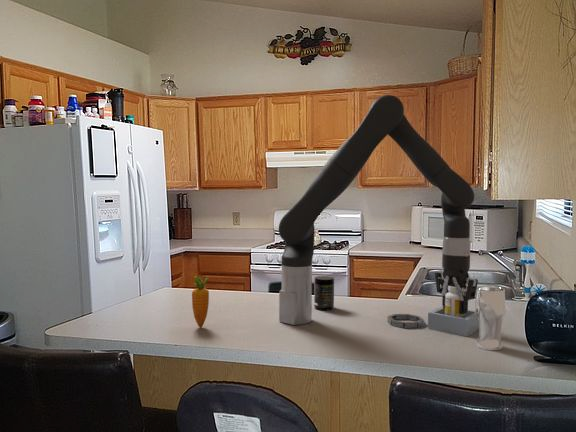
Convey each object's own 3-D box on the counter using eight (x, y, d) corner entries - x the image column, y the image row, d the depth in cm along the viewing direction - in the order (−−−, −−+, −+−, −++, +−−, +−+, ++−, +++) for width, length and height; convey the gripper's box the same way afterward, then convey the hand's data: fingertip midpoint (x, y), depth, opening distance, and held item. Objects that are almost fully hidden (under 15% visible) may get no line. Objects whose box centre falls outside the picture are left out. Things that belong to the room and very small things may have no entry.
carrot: (212, 326, 137) (212, 275, 136) (204, 330, 132) (203, 278, 132) (197, 324, 139) (197, 274, 138) (188, 329, 134) (188, 277, 133)
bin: (466, 336, 128) (467, 319, 128) (427, 328, 136) (428, 312, 135) (481, 327, 137) (481, 312, 136) (443, 320, 144) (444, 305, 144)
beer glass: (502, 353, 115) (503, 292, 114) (472, 347, 119) (473, 289, 118) (505, 345, 121) (507, 287, 120) (477, 340, 125) (478, 284, 124)
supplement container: (338, 309, 157) (338, 278, 157) (321, 311, 154) (321, 280, 153) (326, 305, 163) (326, 275, 163) (310, 307, 160) (310, 277, 159)
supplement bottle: (466, 318, 137) (467, 285, 136) (462, 322, 132) (463, 288, 132) (447, 315, 140) (447, 283, 139) (442, 320, 135) (443, 286, 134)
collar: (413, 330, 134) (413, 324, 134) (382, 323, 140) (382, 318, 140) (428, 322, 141) (428, 317, 141) (398, 316, 148) (398, 312, 148)
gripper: (428, 250, 139) (426, 307, 140) (467, 256, 127) (465, 318, 128) (446, 249, 143) (444, 304, 144) (486, 255, 130) (484, 315, 131)
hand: (454, 310), depth 136 cm, fingers closed on supplement bottle, 5 cm apart
